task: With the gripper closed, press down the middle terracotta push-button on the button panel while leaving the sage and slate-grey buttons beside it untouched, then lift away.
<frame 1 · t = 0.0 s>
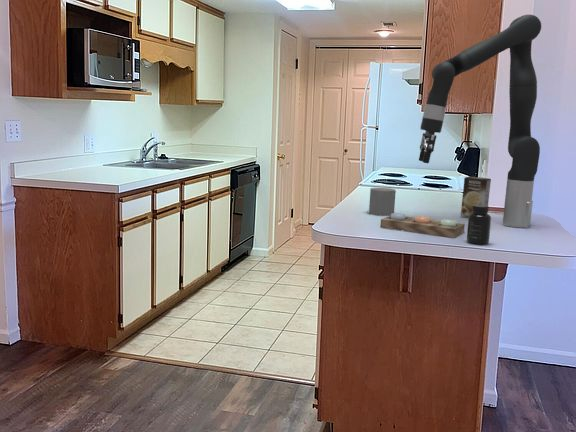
hand: (423, 162, 214), 22 cm above the worktop, tool pointing down, fingers open, 8 cm apart
supplement bottle: (477, 243, 184), on the worktop
button panel: (421, 230, 201), on the worktop
sage button: (448, 224, 196), point 3 cm above the worktop, slide at 0.0 cm
coffee box: (473, 218, 230), on the worktop
coffee mug: (380, 213, 234), on the worktop
terracotta button: (422, 221, 201), point 3 cm above the worktop, slide at 0.0 cm
slate button: (397, 218, 205), point 3 cm above the worktop, slide at 0.0 cm
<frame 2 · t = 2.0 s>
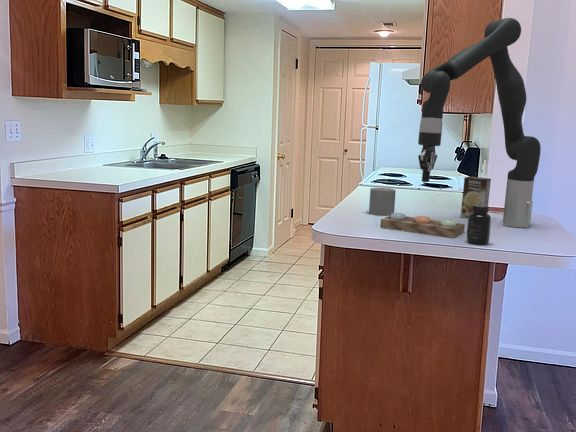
hand: (425, 181, 201), 17 cm above the worktop, tool pointing down, fingers closed
nothing on the worktop moved.
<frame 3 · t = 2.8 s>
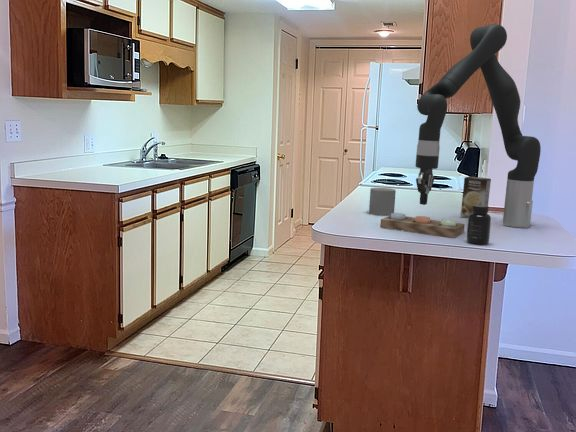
hand: (423, 204, 200), 9 cm above the worktop, tool pointing down, fingers closed
nothing on the worktop moved.
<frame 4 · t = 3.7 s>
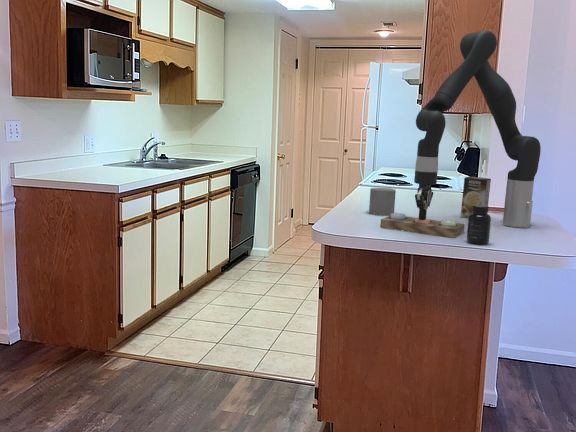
hand: (422, 219, 201), 4 cm above the worktop, tool pointing down, fingers closed
terracotta button: (422, 223, 201), point 2 cm above the worktop, slide at 0.8 cm, touching gripper
everything else where it was.
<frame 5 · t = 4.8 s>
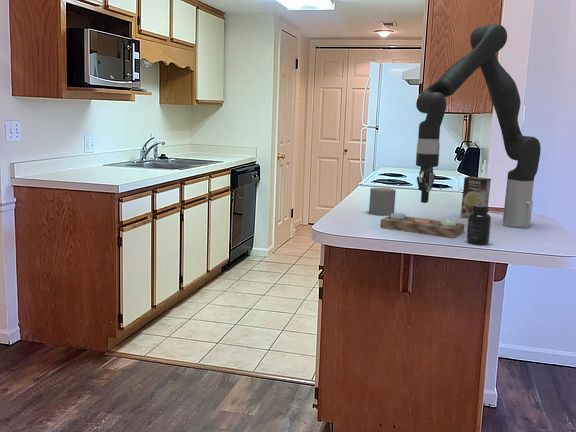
hand: (424, 202, 200), 10 cm above the worktop, tool pointing down, fingers closed
terracotta button: (422, 224, 201), point 2 cm above the worktop, slide at 1.1 cm
everything else where it was.
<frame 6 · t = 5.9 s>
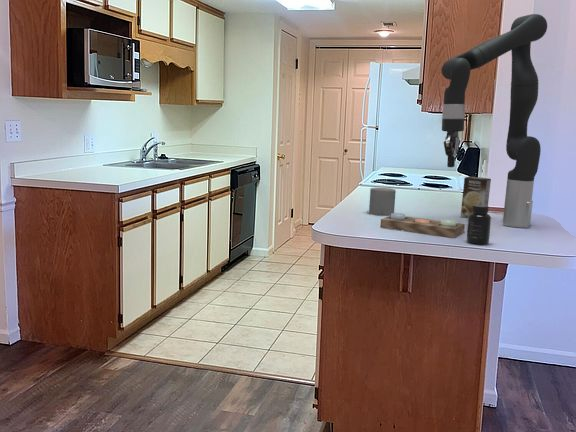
hand: (450, 167, 205), 22 cm above the worktop, tool pointing down, fingers closed
nothing on the worktop moved.
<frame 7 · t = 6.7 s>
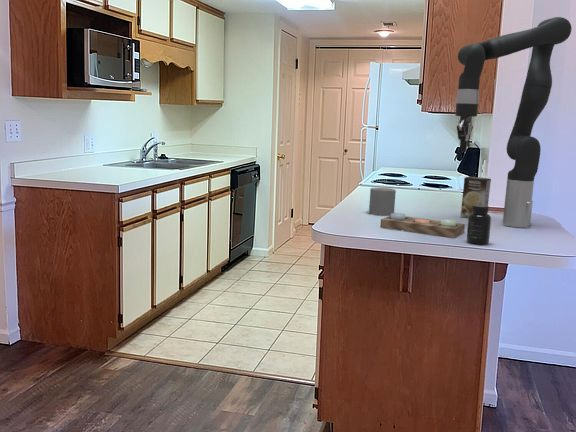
hand: (462, 151, 208), 27 cm above the worktop, tool pointing down, fingers closed
nothing on the worktop moved.
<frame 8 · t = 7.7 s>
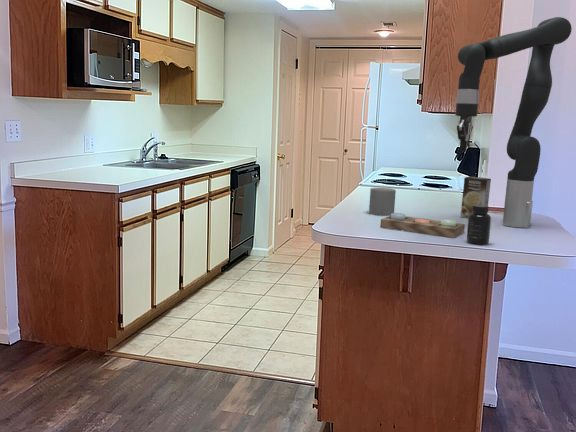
hand: (462, 151, 208), 27 cm above the worktop, tool pointing down, fingers closed
nothing on the worktop moved.
at the end: terracotta button slide at 1.1 cm; sage button slide at 0.0 cm; slate button slide at 0.0 cm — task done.
